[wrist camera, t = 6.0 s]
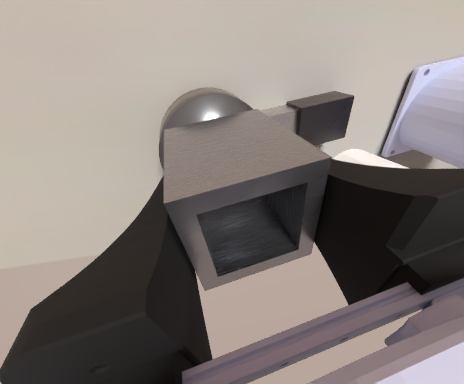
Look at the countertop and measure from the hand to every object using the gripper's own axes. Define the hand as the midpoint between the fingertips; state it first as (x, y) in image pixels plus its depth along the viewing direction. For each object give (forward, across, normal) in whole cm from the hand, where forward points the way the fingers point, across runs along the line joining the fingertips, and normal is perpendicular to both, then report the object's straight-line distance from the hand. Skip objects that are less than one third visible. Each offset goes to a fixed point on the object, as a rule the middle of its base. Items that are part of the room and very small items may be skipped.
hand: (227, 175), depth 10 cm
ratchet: (+5, -3, 0) cm, 6 cm away
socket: (+2, 0, 0) cm, 2 cm away
